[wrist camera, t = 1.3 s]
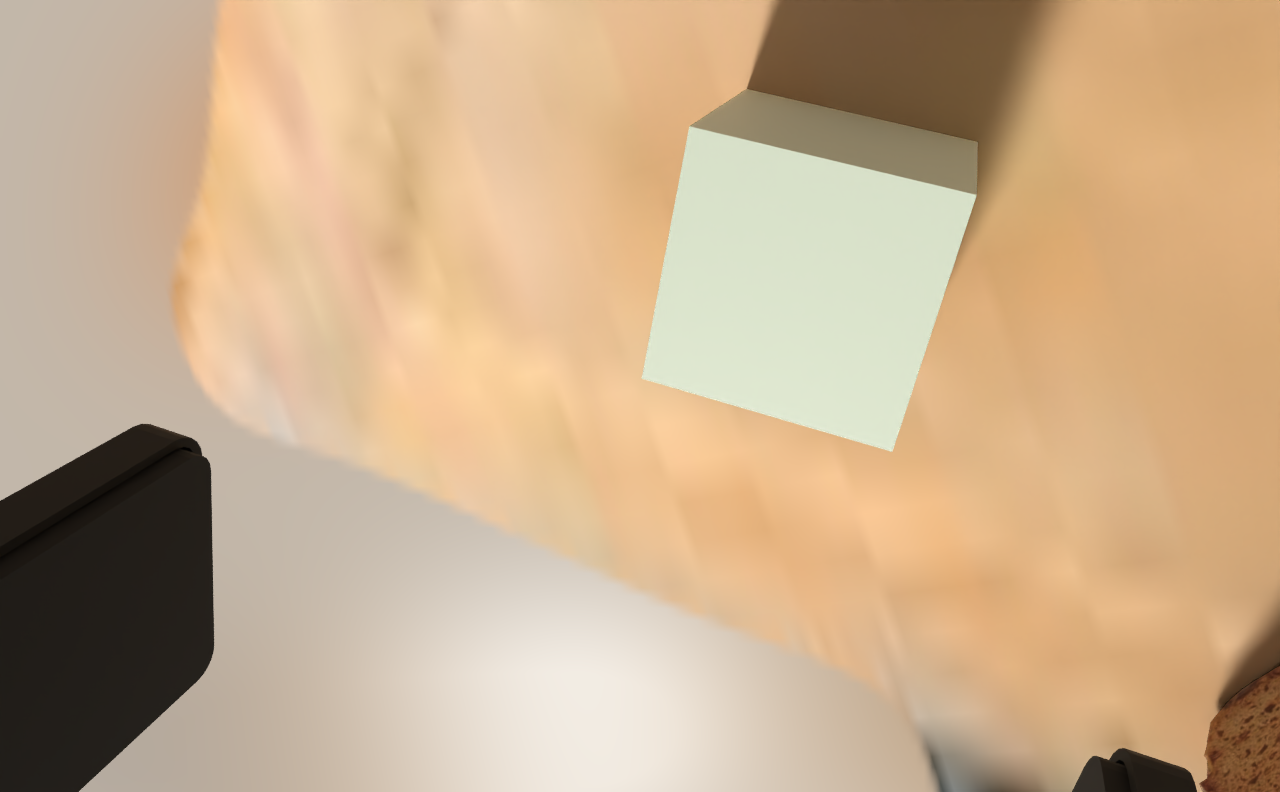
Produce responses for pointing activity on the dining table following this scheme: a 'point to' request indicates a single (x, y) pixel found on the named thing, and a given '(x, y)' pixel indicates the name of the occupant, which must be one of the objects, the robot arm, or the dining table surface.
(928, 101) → the dining table surface
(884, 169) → the sage block
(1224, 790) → the bread
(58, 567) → the robot arm
